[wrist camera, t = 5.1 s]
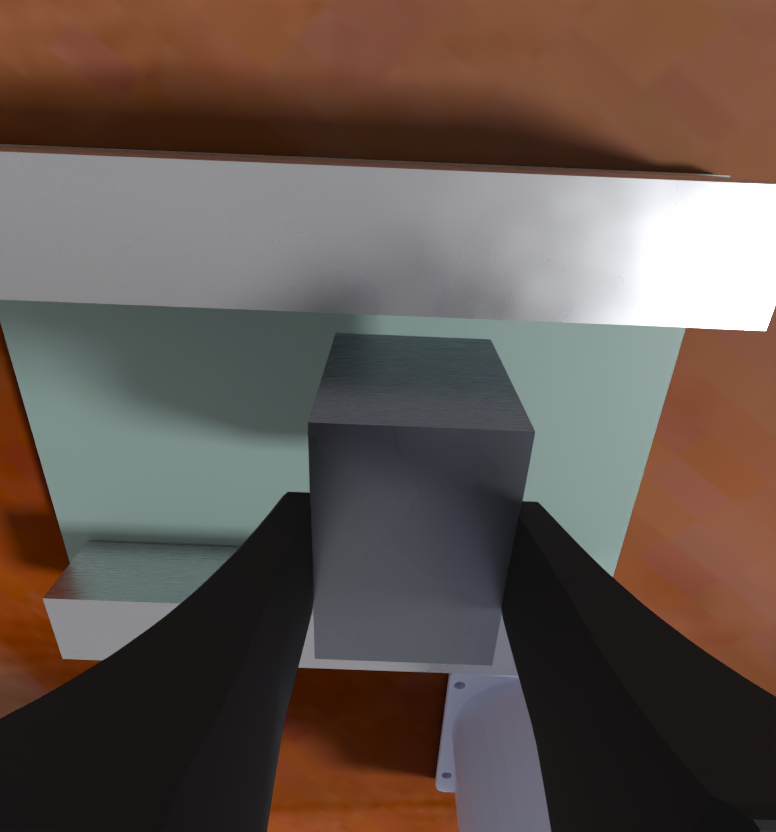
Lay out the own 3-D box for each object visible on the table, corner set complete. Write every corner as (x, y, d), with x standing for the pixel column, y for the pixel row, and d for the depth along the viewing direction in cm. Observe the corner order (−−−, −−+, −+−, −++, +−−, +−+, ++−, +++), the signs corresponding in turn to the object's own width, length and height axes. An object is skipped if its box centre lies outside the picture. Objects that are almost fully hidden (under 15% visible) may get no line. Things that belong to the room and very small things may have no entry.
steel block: (466, 525, 17) (492, 665, 12) (336, 520, 17) (314, 659, 12) (490, 339, 14) (535, 431, 10) (335, 332, 14) (307, 422, 10)
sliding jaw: (578, 616, 23) (603, 678, 20) (102, 598, 23) (62, 658, 20) (593, 560, 22) (621, 619, 19) (87, 541, 21) (42, 598, 19)
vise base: (590, 617, 24) (644, 747, 19) (93, 598, 24) (10, 724, 19) (715, 174, 16) (868, 188, 11) (-32, 142, 16) (-238, 141, 11)
